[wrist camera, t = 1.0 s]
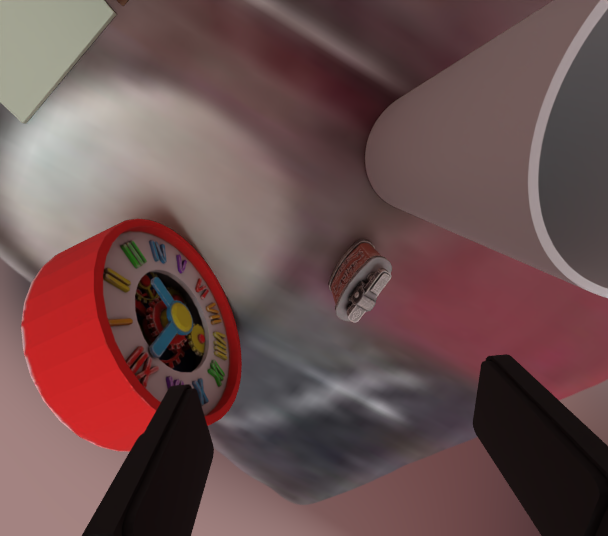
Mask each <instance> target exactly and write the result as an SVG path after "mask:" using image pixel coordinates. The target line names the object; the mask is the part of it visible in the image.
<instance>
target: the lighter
mask: <svg viewBox="0 0 608 536" xmlns="http://www.w3.org/2000/svg"><path fill="white" fill-rule="evenodd" d="M391 271H392V266H391V264H390V262H389V261H388V260H387V259H386V258H385V257H383V256H381V255H380V254H379V253H378V252H377V251H376V250H375V248H374V246H373V244H372V243H371V242H369V241H368V240H364V239H361V240H358V241H357V242H356V243H355V244H354V245H353V246H352V247H351V248H350V249H349V250H348V251H347V252H346V253H345V254H344V256H343V257H342V258H341V259H340V261H339V263H338V264H337V266H336V268H335V269H334V271H333V273H332V276H331V278H330V280H329V288H330V290H331V292H332V293H333V297H334V300H335V304H336V306H335V310H336V314H337V316H338V317H339V318H340V319H342V320H344V321H352V322H358V321H359V319H360V318H361V317H362V316H363V314H364V313H365V312H367V311H371V310H372V308H373V307H374V306H375V303H376V299H377V296H378V295H379V293H380V292H381V291H382V289H383V288H384V287H385V285H386V284H387V283H388V281H389V280H390V279H391Z"/></svg>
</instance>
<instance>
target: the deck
mask: <svg viewBox="0 0 608 536" xmlns="http://www.w3.org/2000/svg"><path fill="white" fill-rule="evenodd" d="M117 1H118V2H119V3H120V4H121V5H122V6H124V5H125V4H126V2H127V1H128V0H117Z"/></svg>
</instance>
